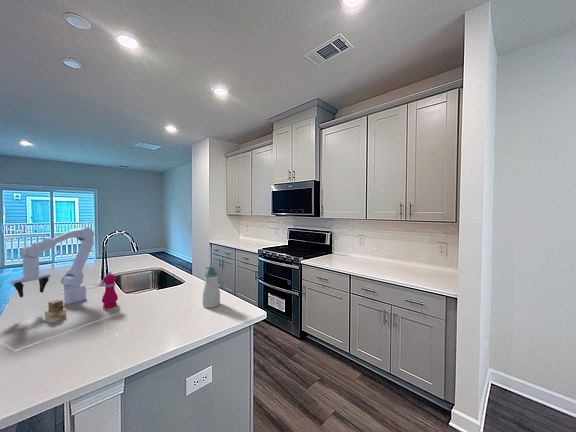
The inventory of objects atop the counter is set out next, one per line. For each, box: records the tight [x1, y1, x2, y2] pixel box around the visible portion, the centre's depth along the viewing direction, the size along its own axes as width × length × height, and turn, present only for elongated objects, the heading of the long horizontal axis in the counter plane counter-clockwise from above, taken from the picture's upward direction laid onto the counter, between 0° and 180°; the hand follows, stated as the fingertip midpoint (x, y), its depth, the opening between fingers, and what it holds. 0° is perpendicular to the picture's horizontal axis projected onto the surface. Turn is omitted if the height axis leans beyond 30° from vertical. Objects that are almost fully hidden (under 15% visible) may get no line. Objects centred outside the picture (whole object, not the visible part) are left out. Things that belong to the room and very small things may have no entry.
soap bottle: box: [202, 265, 221, 309], centre depth 143 cm, size 10×10×23 cm
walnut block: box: [48, 298, 64, 312], centre depth 123 cm, size 4×4×4 cm
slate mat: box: [43, 315, 68, 323], centre depth 127 cm, size 12×14×1 cm
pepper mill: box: [101, 271, 119, 309], centre depth 138 cm, size 7×7×20 cm
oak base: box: [44, 307, 67, 323], centre depth 123 cm, size 6×6×4 cm
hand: (31, 294), depth 127 cm, fingers open, 7 cm apart
